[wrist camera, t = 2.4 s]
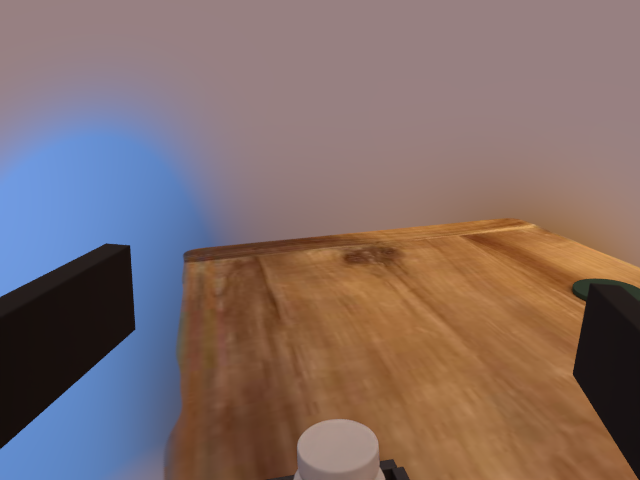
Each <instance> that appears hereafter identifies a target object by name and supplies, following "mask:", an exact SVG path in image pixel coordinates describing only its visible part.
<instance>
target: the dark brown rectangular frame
mask: <svg viewBox="0 0 640 480" xmlns="http://www.w3.org/2000/svg"><path fill="white" fill-rule="evenodd" d="M379 467H380V468H381V470H382V472H383V474H384V477H385V480H410V479H409V477H408V475H407V473H406V471H405V469H404V467H398V468H397V466H396V464H395V462H394V460H393V459H391V460H385V461H380V465H379ZM294 476H295V475H292V476H285V477H279V478H273V479H267V480H293V479H294Z"/></svg>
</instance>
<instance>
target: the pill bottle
mask: <svg viewBox="0 0 640 480" xmlns="http://www.w3.org/2000/svg"><path fill="white" fill-rule="evenodd" d="M297 458H298V470H297V471H296V473H295V476H294V479H293V480H385V477H384V474H383V472H382V470H381V468H380V467H379V465H380V459H379V445H378V440H377V438H376V436H375V434H374V433H373V432H372V430H371V429H369V428H368V427H366V426H365V425H363V424H361V423H358V422H355V421H352V420H346V419H334V420H327V421H322V422H319V423H317V424H315V425H313V426H311V427H310V428H308V429H307V430H306V431H305V432H304V433H303V434H302V435H301V437H300V438H299V441H298V445H297Z"/></svg>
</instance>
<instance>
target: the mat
mask: <svg viewBox="0 0 640 480" xmlns="http://www.w3.org/2000/svg"><path fill="white" fill-rule="evenodd" d="M590 283H598V284H610V285H620V286H622V287H623V288H624V289H625V290H626V291H627V292H629V293H630V294H631V295H632V296H633V297H634V298H636V299H637V300H638V301H639V302H640V289H639V288H637V287H635V286H633V285H630V284H627V283H624V282H620V281H615V280H608V279H584V280H580V281H577V282H575V283H574V284H573V288H572V291H573V293H574V294H575V295H576V296H577V297H579V298H581V299H583V300H585V301H587V296H588V291H589V285H590Z"/></svg>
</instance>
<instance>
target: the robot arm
mask: <svg viewBox="0 0 640 480" xmlns="http://www.w3.org/2000/svg"><path fill="white" fill-rule="evenodd" d="M134 330H135V317H134V301H133V284H132V269H131V254H130V245H118V244H104V245H102V246H101V247H99V248H97V249H94V250H92V251H91V252H89V253H87V254H85V255H83V256H81V257H79V258H77V259H75V260H73V261H71V262H69V263H67V264H65V265H63V266H61V267H59V268H57V269H55V270H53V271H51V272H49V273H47V274H45V275H43V276H41V277H39V278H37V279H35V280H33V281H31V282H30V283H27V284H25V285H23V286H21V287H19V288H17V289H16V290H13V291H11V292H9V293H7V294H6V295H3V296H1V297H0V449H1V448H2V447H3V446H4V445H6V444H7V443H8V442H9V441H10V440H11V439H12V438H13V437H15V436H16V435H17V434H18V433H19V432H20V431H21V430H22V429H23V428H25V427H26V426H27V425H28V424H29V423H30V422H31V421H33V419H35V418H36V417H37V416H38V415H39V414H40V413H42V412H43V411H44V410H45V409H46V408H47V407H48V406H50V404H51V403H53V402H54V401H55V400H56V399H57V398H59V397H60V396H61V395H62V394H63V393H64V392H65V391H66V390H68V388H70V387H71V386H72V385H73V384H74V383H75V382H77V381H78V380H79V379H80V378H81V377H82V376H83V375H84V374H86V373H87V372H88V371H89V370H90V369H91V368H92V367H93V366H94V365H96V364H97V363H98V362H99V361H100V360H101V359H102V358H104V357H105V356H106V355H107V354H108V353H109V352H110V351H111V350H113V349H114V348H115V347H116V346H117V345H118V344H119V343H120V342H122V341H123V340H124V339H125V338H126V337H127V336H128V335H129V334H130V333H132V332H133V331H134ZM573 376H574V377H575V379H576V381H577V382H578V384H579V385H580V387H581V388H582V390H583V392H584V393H585V395H586V396H587V398H588V400H589V401H590V403H591V404H592V406H593V408H594V409H595V411H596V412H597V414H598V416H599V417H600V419H601V420H602V422H603V424H604V425H605V427H606V428H607V430H608V432H609V433H610V435H611V436H612V438H613V440H614V441H615V443H616V444H617V446H618V448H619V449H620V451H621V452H622V454H623V455H624V457H625V459H626V460H627V462H628V463H629V465H630V467H631V468H632V470H633V471H634V473H635V475H636V476H637V478H638V479H639V480H640V302H639V301H638V300H637V299H636V298H634V297H633V296H632V295H631V294H630V293H629V292H627V291H626V290H625V289H624V288H623V287H622V286H620V285H610V284H598V283H590V285H589V291H588V296H587V301H586V306H585V312H584V317H583V322H582V327H581V333H580V338H579V343H578V349H577V354H576V359H575V364H574V370H573Z"/></svg>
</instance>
